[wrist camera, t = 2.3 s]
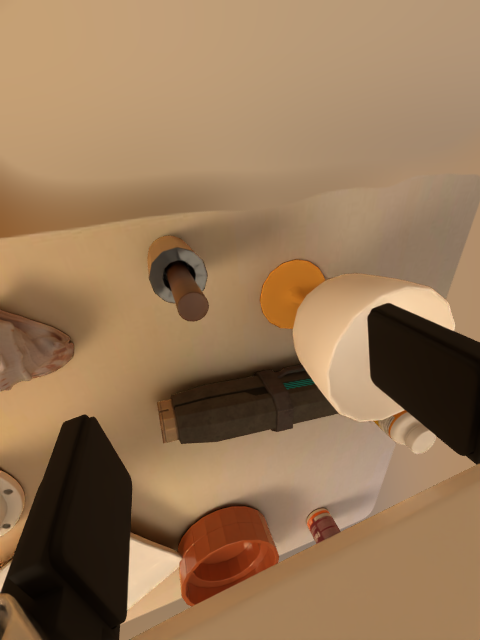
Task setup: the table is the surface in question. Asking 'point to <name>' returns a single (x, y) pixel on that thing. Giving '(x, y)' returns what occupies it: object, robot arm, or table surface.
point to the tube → (243, 407)
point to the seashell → (29, 349)
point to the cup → (343, 328)
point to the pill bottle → (321, 525)
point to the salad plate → (139, 567)
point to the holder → (168, 252)
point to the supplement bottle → (407, 432)
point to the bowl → (224, 552)
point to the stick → (186, 292)
